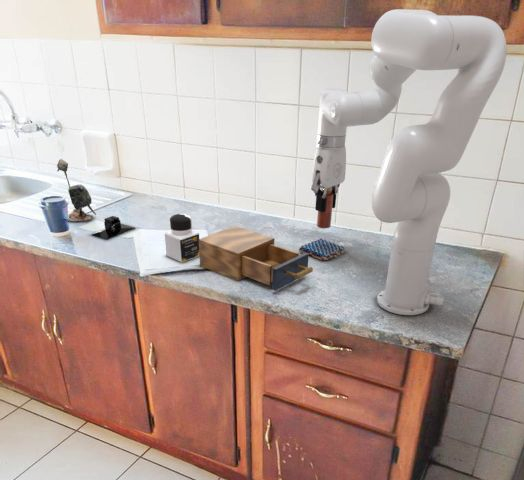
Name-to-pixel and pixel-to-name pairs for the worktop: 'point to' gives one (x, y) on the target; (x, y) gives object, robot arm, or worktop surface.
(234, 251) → the cabinet
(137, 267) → the worktop surface
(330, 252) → the woven mat
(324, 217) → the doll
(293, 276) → the drawer
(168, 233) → the medicine bottle
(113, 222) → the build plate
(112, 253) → the worktop surface
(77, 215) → the bird figurine
